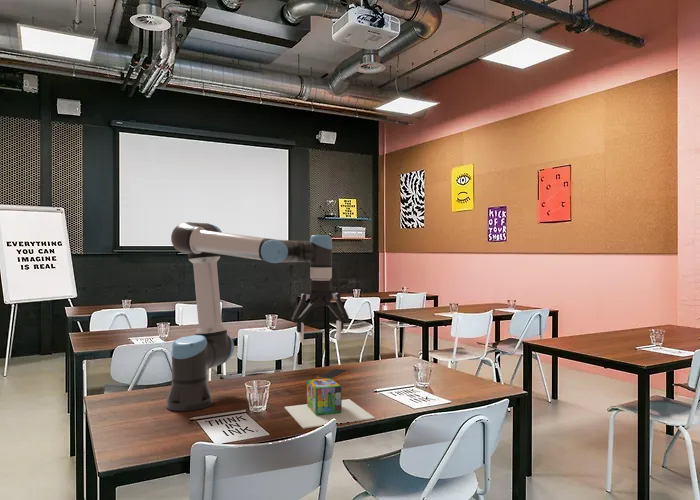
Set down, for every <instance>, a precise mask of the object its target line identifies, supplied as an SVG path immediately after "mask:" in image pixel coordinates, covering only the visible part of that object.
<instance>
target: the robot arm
mask: <svg viewBox="0 0 700 500" xmlns="http://www.w3.org/2000/svg"><path fill="white" fill-rule="evenodd" d="M170 237H171V238H170V241H171V245H172V246H173V248H174V249H175V251H178V252H180V253H182V254H186V255H187V257H188V261H189V262H190V263H192V265H193V266H192V267H193V278H194V287H195V288H194V289H195V299H196V309H197V310H196V312H197V321H198V323H197V324H198V328H196V331H195V332H194V335H193V334H191V335H188V336H182V337H179V338H177V339H176V340H174V341H173V343H172V348H171V353H170V354H171V386H170V389H169V392H168V394H167V395H168V396H167V398H166V409H167V410H169V411H175V412H189V411H190V412H191V411H192V412H193V411H197V410H202V409H205V408H208V407H209V406H211V405H212V403H213V397H212V396H213V395H212V392H211V390H210V388H209V384H208V380H207V379H208V376H207V373H208V372H207V371H208V370H209V369H212V368H215V367H218V366H219V367H220V366H222V365H223V364H224V363H226V362H228V361H229V360H230V359H231V358H232V356H233V354H234V350H235V344H234V340H233V338H232V337H231V336H230V335H229V334H228V330H227V327H225V326H224V325H223V320H222V309H221V297H220V295H221V294H220V286H219V285H220V284H219V275H218V274H219V273H218V264H217V263H218V261H219V260H220V258H221V255H223V256H231V257H235V258H236V257H237V258H244V259H249V260H258V261H264V262H267V263H271V264H279V263H297V262H298V263H309V264H310V265H309V266H310V268H309V270H310V271H309V279H310V282H309V293H308V294H305V293H301V294H300V299H299V302H298V303H297V306H296V308H295V309H294V312H293V314H292V316H291V321H293V322H295V323H296V332H297V333H298V342H299V343H304V339H305V338H304V337H305V336H304V334H305V333H304V332H305V327H304V326H305V324H304V322H303V321H304V320H305V319H306V317H308V316H309V314H310V312H311V311H312V309H314V308H315V307H317V308H319V307H324V308H325V307H328V308H329V310H330V311H331V312H332V313H333V315H334V316H335V317H336V318H337V320H336V321H335V322H336V325H335V326H336V327H335V331H336V333H335V334H336V335H335V336H336V338H335V339H336V340H337V341H342V331H343V330H344V322H345V321H346V320H349V318H350V317H349V315H348V312H347V310H346V308H345V305H344V304H343V301H342V300H341V299H342V298H341V293H338V292H335V293H332V292H333V291H332V289H333V288H332V287H333V283H332V280H331V279H333V266H332V265H333V238H332V236H330V235H325V234H322V235H321V234H313V235H311V236H310V240H288V239H287V240H285V239H275V238H265V237H259V236H252V235H251V236H250V235H243V234H237V233H229V232H222V230H221V229H220V228H219V226H216V225H214V224H211V223H207V222H206V223H204V222H191V221H188V222H182V223H179V224H177V225H176V226H175V227H174V228H173V230H172V232H171V235H170ZM308 299H309V300H310V302H309V303H308V305H307V306H306V307H305V308H304V305H305V304H306V301H308ZM333 299H334V300H335V302H336V305H337V307H338V309H339V311H338V309H337V308H336V307H335V305H334V304H333V303H332V302H331V301H332V300H333ZM303 308H304V310H303ZM302 310H303V311H302ZM301 311H302V312H301Z"/></svg>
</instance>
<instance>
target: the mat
mask: <svg viewBox="0 0 700 500" xmlns="http://www.w3.org/2000/svg"><path fill="white" fill-rule="evenodd" d="M284 410H285V411H287V413H288V414H289V415H290V416H291V417H292V418H293V419H294V420H295V422H297V424H298V425H299V426H300V427H301V428H302V429H303V430H304V429H311V428H312V429H313V428H320V427H323V426H322V425H324V424H325V423H327V422H328V421H329V420H331V419H333V418H336V419H337V423H338V424H337V425H341V424H340V423H342V424H348V423H347V422H349V423H355V421H356V422H363V421H370V420H375V419H376V417H375V416H373V415H372V414H371V413H370V412H368V411H366V410H365V409H363V407H361V406H360V405H358V404H357V403H356V402H354V401H352V400H351V399H349V398H348V399H342V411H341V413H334V414H325V415H316V414H315V413H314V412H313V411H312V410H311V409H310V408H309V407H308V406H307V403H306V404H296V405H290V406H284Z"/></svg>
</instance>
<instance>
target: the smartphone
mask: <svg viewBox="0 0 700 500" xmlns="http://www.w3.org/2000/svg"><path fill="white" fill-rule="evenodd" d="M349 372H350V370H349V369H339V368H334V369H332V370H330V371H327V372H324V373H323V374H321V375H318V376H316V379H328V378H331V379H332V380H334V379H336V378H338V377H340V376H343V375H344V374H345V375H346V374H348V373H349Z"/></svg>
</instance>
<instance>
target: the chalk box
mask: <svg viewBox="0 0 700 500" xmlns="http://www.w3.org/2000/svg"><path fill="white" fill-rule="evenodd" d="M342 395H343V393H342V385H340V384H339V383H338V382H336V381H335V380H334V379H331V378H328V379H321V378H316V379H307V380H306V404H307V406H308V407H309V408H310V409H311V410H312V411H313V412H314V413H315V414H316V415H325V414H334V413H341V411H342V400H343V399H342Z"/></svg>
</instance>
